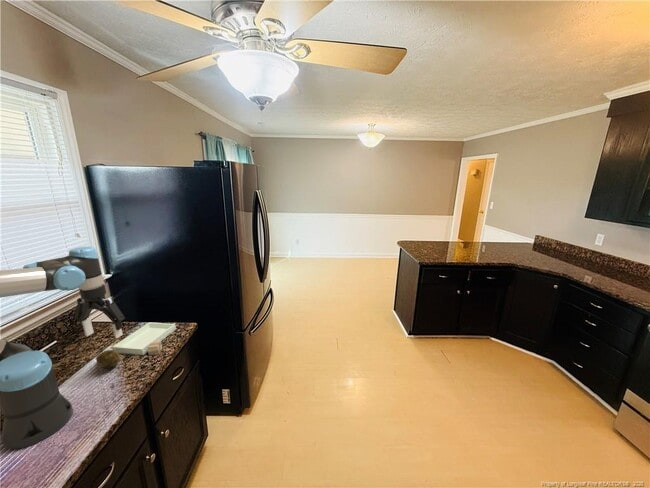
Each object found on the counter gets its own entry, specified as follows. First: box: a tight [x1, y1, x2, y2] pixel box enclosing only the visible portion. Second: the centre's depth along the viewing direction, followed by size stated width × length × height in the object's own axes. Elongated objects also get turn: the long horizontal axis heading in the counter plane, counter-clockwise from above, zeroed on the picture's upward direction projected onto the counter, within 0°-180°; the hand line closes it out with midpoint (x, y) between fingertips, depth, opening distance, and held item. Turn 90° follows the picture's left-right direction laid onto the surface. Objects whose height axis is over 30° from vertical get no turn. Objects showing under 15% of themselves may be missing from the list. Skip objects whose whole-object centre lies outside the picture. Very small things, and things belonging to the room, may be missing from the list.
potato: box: [95, 349, 121, 369], centre depth 108 cm, size 8×13×8 cm, turn 28°
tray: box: [111, 322, 177, 356], centre depth 126 cm, size 21×15×3 cm
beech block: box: [147, 341, 163, 356], centre depth 117 cm, size 4×4×4 cm
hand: (104, 335), depth 106 cm, fingers open, 13 cm apart
